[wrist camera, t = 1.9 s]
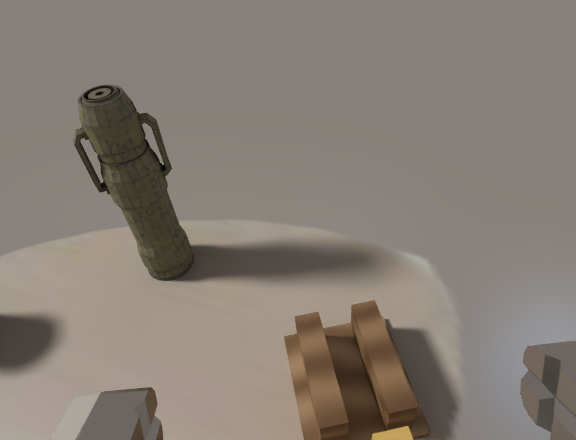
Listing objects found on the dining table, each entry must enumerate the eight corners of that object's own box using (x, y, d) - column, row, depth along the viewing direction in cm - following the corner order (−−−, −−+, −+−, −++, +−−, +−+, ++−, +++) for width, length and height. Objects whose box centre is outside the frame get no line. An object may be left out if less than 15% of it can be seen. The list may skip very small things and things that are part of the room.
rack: (429, 434, 56) (437, 411, 51) (308, 461, 55) (305, 441, 50) (382, 318, 69) (385, 292, 64) (284, 339, 68) (280, 313, 63)
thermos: (208, 265, 81) (150, 92, 57) (146, 291, 77) (57, 119, 53) (193, 236, 87) (135, 69, 63) (135, 260, 83) (51, 92, 59)
